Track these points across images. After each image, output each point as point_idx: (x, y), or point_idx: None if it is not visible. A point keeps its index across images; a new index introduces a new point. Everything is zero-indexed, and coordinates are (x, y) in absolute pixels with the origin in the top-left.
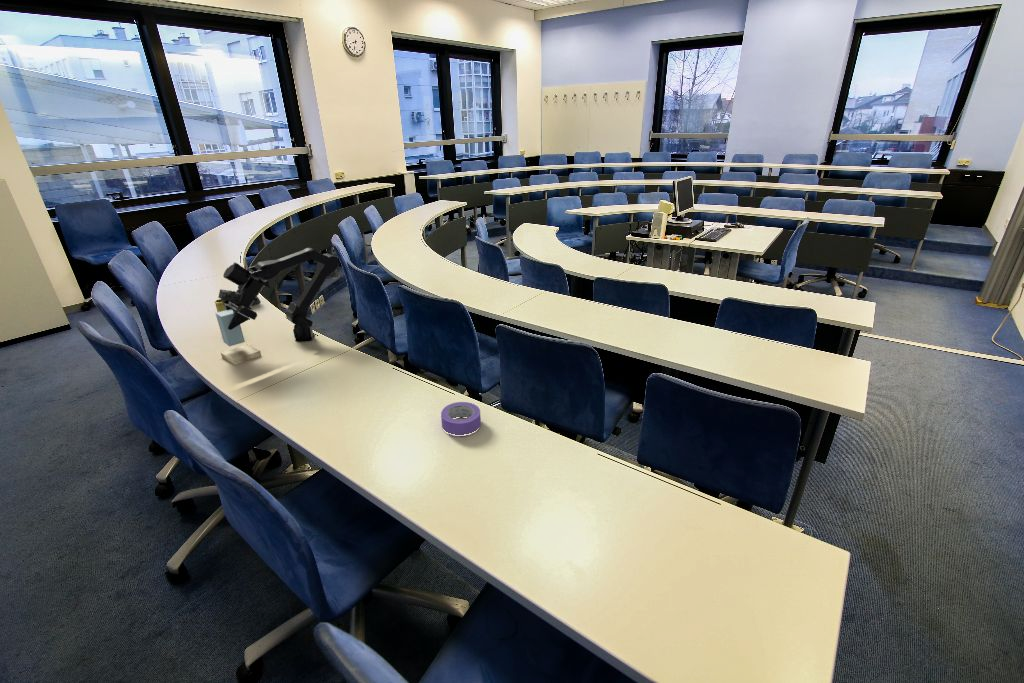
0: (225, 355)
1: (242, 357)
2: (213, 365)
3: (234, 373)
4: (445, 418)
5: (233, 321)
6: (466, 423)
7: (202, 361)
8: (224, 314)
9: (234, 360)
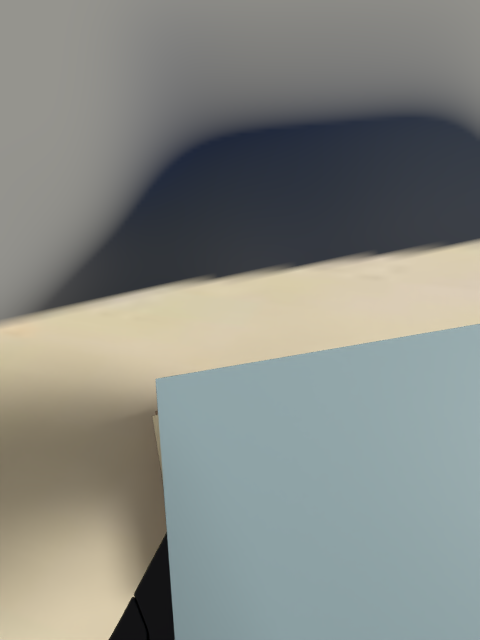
0: None
1: (162, 478)
2: (278, 327)
3: (104, 400)
4: None
5: (134, 610)
6: None
7: (368, 288)
8: (292, 510)
9: (156, 423)
